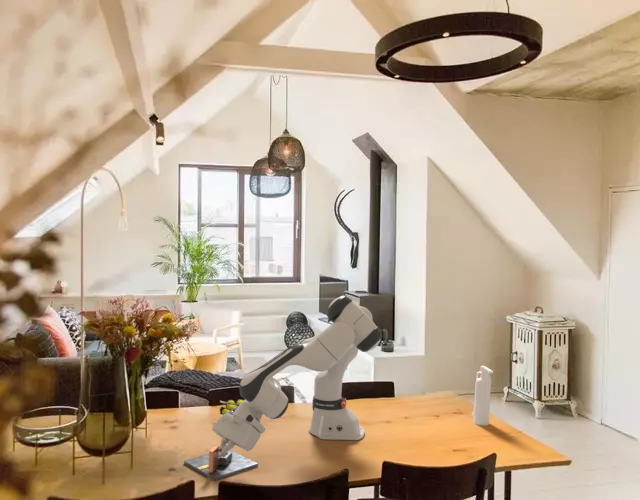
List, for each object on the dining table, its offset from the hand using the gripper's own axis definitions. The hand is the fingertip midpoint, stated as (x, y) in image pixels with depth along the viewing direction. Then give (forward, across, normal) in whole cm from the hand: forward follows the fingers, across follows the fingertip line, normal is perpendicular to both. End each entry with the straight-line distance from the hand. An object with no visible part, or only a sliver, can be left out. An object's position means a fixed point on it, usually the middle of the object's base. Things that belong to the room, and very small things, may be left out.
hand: (220, 452), depth 197 cm
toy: (-18, -36, +29) cm, 49 cm away
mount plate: (+3, -4, +6) cm, 8 cm away
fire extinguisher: (-77, +26, +87) cm, 119 cm away
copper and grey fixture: (+3, -2, +4) cm, 5 cm away
